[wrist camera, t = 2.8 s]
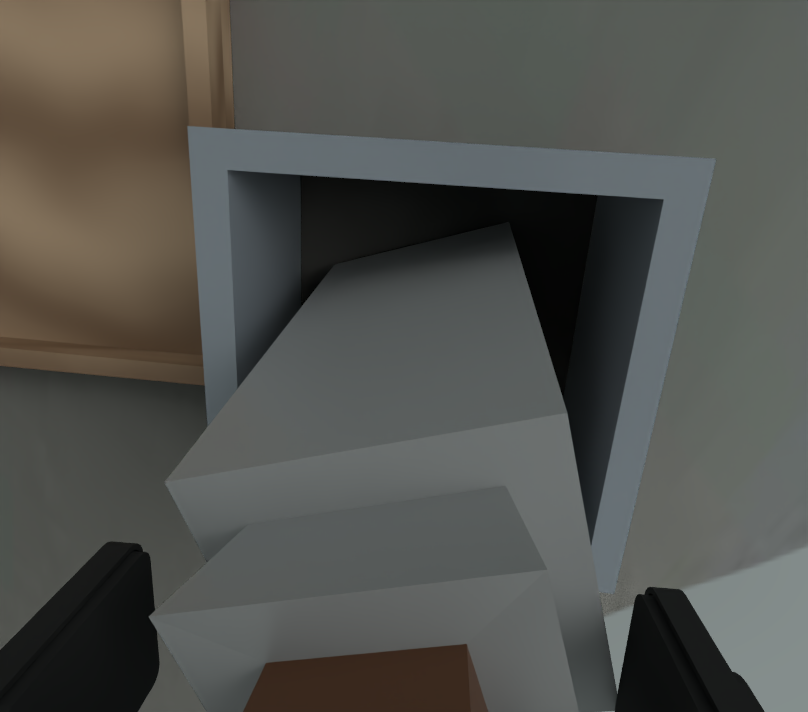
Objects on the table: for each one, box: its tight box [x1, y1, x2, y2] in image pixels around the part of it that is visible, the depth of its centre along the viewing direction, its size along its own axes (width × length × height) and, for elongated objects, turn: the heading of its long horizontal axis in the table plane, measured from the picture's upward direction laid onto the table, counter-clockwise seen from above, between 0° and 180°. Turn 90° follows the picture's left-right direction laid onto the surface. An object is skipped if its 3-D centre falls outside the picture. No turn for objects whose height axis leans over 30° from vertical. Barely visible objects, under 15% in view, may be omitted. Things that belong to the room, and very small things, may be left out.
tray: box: [0, 0, 235, 386], centre depth 20 cm, size 20×16×2 cm
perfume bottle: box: [149, 222, 617, 712], centre depth 14 cm, size 7×7×18 cm
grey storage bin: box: [187, 126, 716, 594], centre depth 19 cm, size 13×13×7 cm
